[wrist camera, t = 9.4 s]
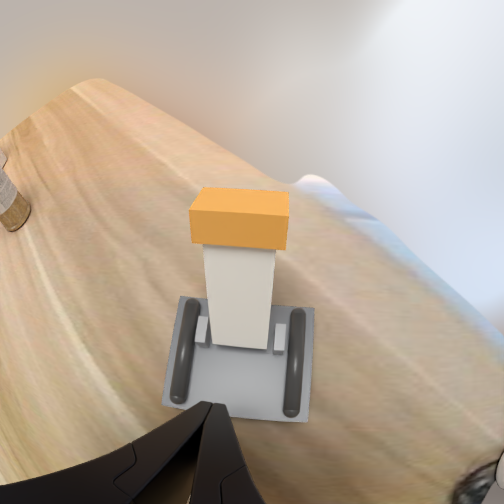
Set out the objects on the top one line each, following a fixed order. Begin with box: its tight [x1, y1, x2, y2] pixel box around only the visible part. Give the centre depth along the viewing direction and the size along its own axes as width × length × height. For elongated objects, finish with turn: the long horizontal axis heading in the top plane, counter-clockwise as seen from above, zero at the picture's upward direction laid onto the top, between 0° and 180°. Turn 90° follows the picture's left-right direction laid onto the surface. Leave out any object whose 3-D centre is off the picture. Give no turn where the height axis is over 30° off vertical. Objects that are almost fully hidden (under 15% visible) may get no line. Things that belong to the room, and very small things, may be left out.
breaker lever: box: [189, 187, 289, 349], centre depth 15 cm, size 2×4×9 cm, turn 85°
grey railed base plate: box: [161, 296, 314, 422], centre depth 18 cm, size 8×9×5 cm
